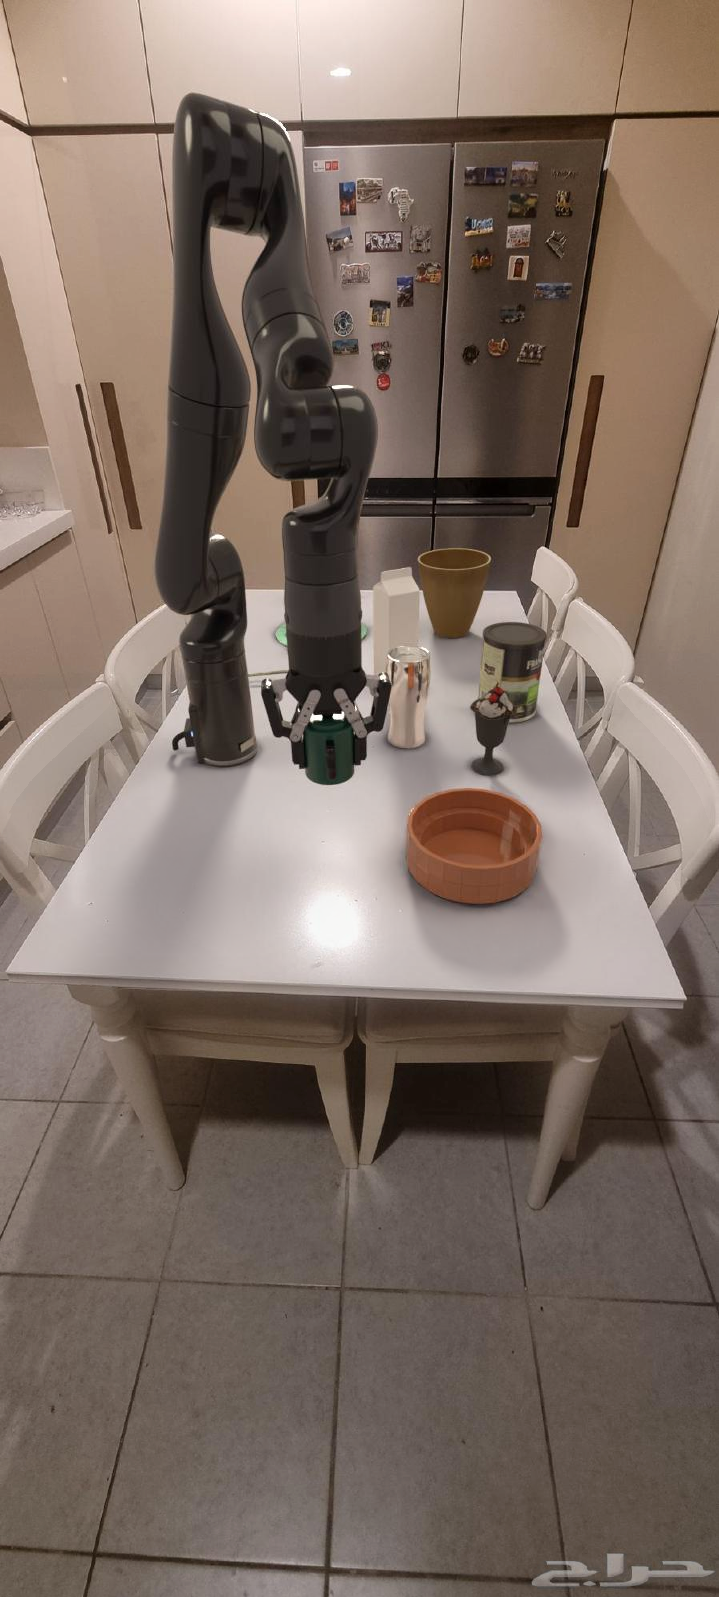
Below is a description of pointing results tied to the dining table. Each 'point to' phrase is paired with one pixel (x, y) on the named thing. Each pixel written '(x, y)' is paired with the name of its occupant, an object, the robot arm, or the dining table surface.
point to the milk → (394, 614)
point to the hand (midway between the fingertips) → (329, 763)
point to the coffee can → (513, 664)
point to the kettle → (329, 749)
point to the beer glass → (408, 694)
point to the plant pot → (453, 588)
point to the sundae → (491, 727)
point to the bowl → (473, 845)
